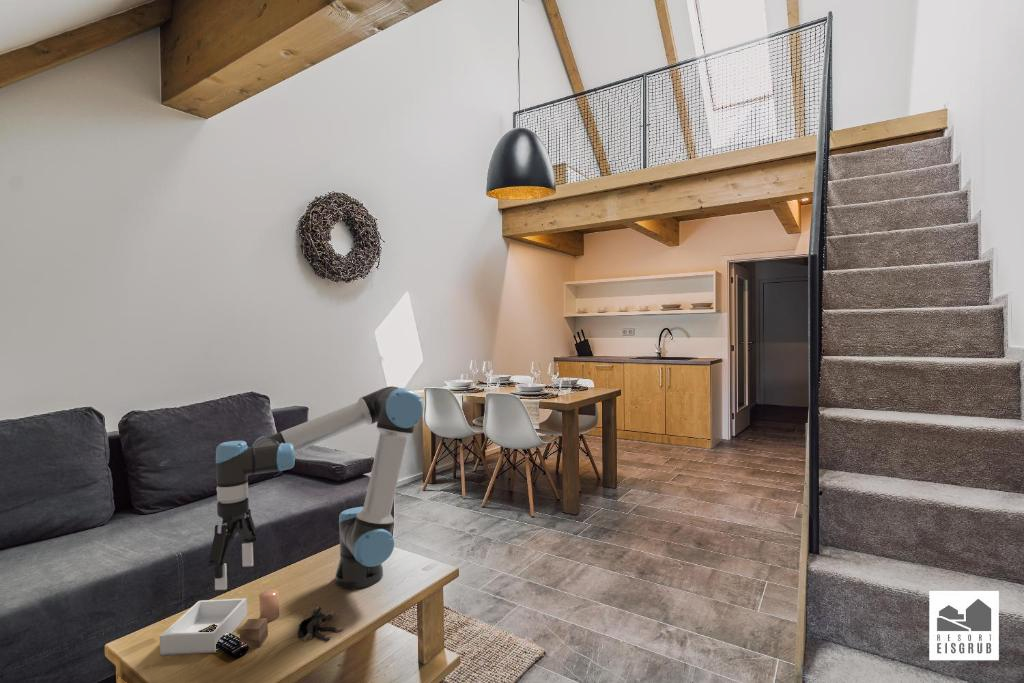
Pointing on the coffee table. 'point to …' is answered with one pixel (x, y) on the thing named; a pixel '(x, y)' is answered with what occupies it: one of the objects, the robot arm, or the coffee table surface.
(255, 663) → the coffee table surface
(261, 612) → the round-ended peach cylinder
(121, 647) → the coffee table surface
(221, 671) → the coffee table surface
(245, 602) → the tote
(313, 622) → the dark brown branched piece
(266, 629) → the walnut cube
